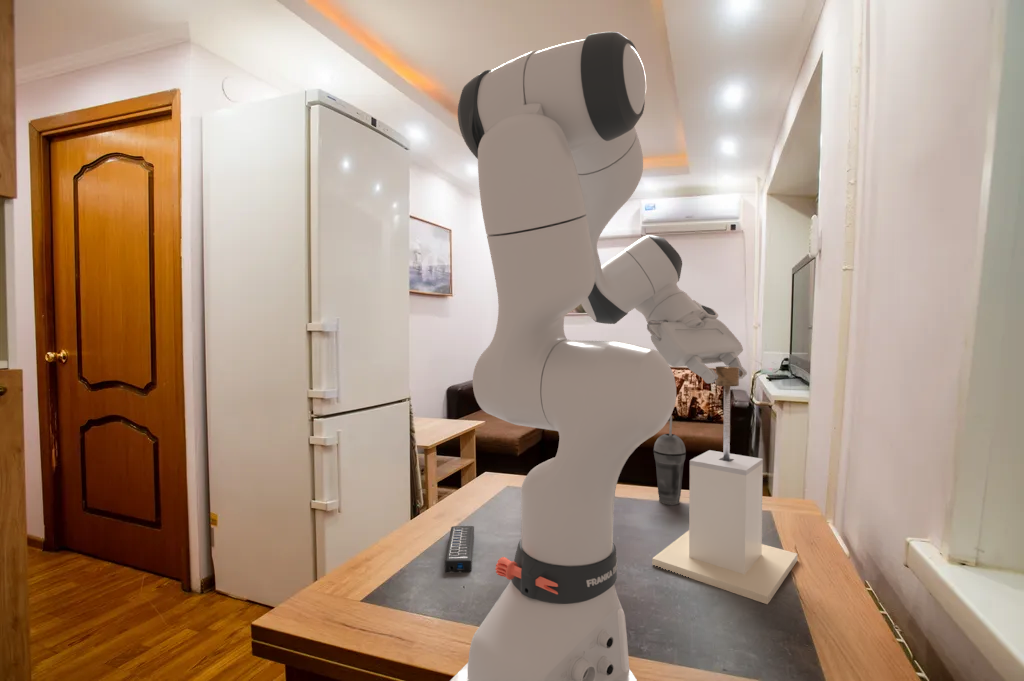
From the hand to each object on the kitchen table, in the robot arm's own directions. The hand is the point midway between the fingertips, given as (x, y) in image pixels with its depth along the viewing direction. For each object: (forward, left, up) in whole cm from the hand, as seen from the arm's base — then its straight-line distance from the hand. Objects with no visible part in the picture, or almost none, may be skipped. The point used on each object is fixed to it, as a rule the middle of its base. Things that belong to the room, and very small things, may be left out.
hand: (728, 378), depth 84 cm
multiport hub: (-27, +37, -32) cm, 56 cm away
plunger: (0, 0, -16) cm, 16 cm away
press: (0, 0, -32) cm, 32 cm away
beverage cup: (+22, +20, -32) cm, 44 cm away
